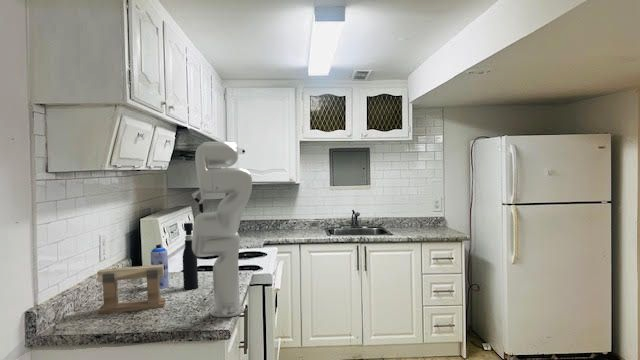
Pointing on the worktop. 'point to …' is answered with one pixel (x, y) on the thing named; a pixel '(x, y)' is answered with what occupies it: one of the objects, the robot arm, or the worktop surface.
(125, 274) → the maple bar
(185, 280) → the black tall bottle
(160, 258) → the aerosol can
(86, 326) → the worktop surface
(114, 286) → the walnut rack
